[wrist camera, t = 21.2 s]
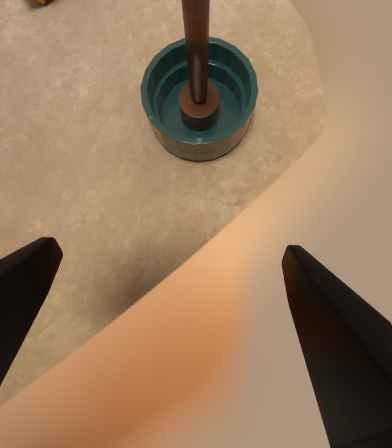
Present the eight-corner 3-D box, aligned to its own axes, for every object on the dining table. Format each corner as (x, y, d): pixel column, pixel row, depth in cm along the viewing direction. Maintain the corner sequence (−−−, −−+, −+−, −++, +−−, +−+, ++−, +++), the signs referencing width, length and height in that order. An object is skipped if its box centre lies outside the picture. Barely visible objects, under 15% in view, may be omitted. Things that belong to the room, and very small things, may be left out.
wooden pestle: (198, 139, 23) (183, -157, 6) (173, 113, 23) (93, -229, 7) (226, 113, 23) (284, -239, 6) (200, 88, 23) (190, -303, 7)
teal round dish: (264, 139, 23) (277, 115, 19) (173, 177, 23) (166, 162, 19) (224, 58, 24) (228, 19, 20) (138, 94, 24) (124, 62, 20)
